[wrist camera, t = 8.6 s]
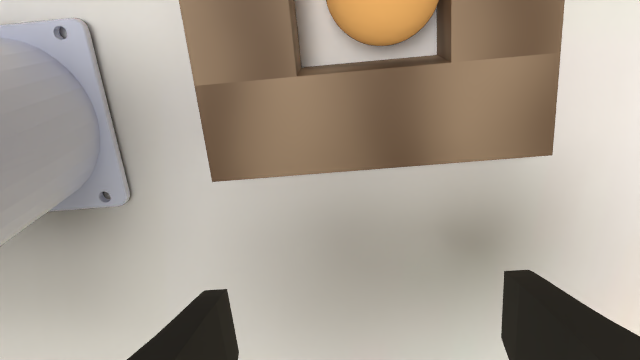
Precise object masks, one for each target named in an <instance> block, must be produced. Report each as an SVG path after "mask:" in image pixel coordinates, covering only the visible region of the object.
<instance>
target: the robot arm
mask: <svg viewBox="0 0 640 360" xmlns="http://www.w3.org/2000/svg"><path fill="white" fill-rule="evenodd" d="M61 26H62V27H63V28H65V30H66V32H67V37H66V38H65V39H64V38H62V37H61V36H60V34H59V29H60V27H61ZM103 192H107V193H108V194H109V195H110V197H111V199H107V198H105V197H104V195H103ZM129 198H130V191H129V187H128V183H127V179H126V175H125V171H124V167H123V163H122V159H121V155H120V151H119V147H118V143H117V139H116V135H115V131H114V127H113V123H112V119H111V115H110V111H109V107H108V103H107V99H106V95H105V91H104V87H103V83H102V79H101V75H100V72H99V68H98V64H97V60H96V56H95V52H94V48H93V44H92V40H91V36H90V32H89V29H88V26H87V25H86V23H85V22H84V21H82V20H80V19H78V18H67V19H57V20H47V21H37V22H28V23H18V24H8V25H0V246H1V245H3V244H4V243H5V242H7V241H8V240H10V239H11V238H12V237H14V236H15V235H16V234H18V233H19V232H21V231H22V230H23V229H25V228H26V227H27V226H29V225H30V224H31V223H33V222H34V221H36V220H37V219H38V218H40V217H41V216H42V215H44V214H45V213H47V212H49V211H62V210H76V209H89V208H102V207H115V206H121V205H123V204H125V203H126V202H127V201H128V200H129ZM501 338H502V341H503V344H504V347H505V350H506V352H507V355H508V358H509V360H640V336H638V335H636V334H634V333H632V332H631V331H629V330H627V329H625V328H623V327H622V326H620V325H618V324H616V323H614V322H613V321H611V320H609V319H607V318H606V317H604V316H602V315H601V314H599V313H597V312H596V311H594V310H592V309H591V308H589V307H588V306H586V305H584V304H583V303H581V302H580V301H578V300H576V299H575V298H573V297H572V296H570V295H569V294H567V293H565V292H564V291H562V290H561V289H559V288H558V287H556V286H555V285H553V284H551V283H550V282H548V281H547V280H545V279H544V278H542V277H540V276H539V275H537V274H536V273H534V272H532V271H530V270H517V271H504V290H503V312H502V333H501ZM238 354H239V350H238V345H237V340H236V334H235V329H234V324H233V318H232V313H231V308H230V303H229V297H228V292H227V289H221V290H206V291H203V292H202V293H201V294H200V295H199V296H198V297H197V298H195V299H194V300H193V301H192V302H191V303H190V304H189V305H188V306H187V307H186V308H185V309H184V310H183V311H182V312H181V313H180V314H178V315H177V316H176V317H175V318H174V319H173V320H172V321H171V322H170V323H169V324H168V325H167V326H166V327H164V328H163V329H162V330H161V331H160V332H159V333H158V334H157V335H156V336H155V337H153V338H152V339H151V340H150V341H149V342H147V343H146V344H145V345H144V346H143V347H142V348H140V349H139V350H138V351H137V352H136V353H134V354H133V355H132V356H131V357H130V358H128V359H127V360H238Z"/></svg>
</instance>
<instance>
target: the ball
mask: <svg viewBox="0 0 640 360" xmlns="http://www.w3.org/2000/svg"><path fill="white" fill-rule="evenodd" d="M438 1H439V0H326V2H327V6H328V9H329V11H330V14H331V15H332V17H333V19H334V21H335V22H336V23H337V25H338V26H339V27H340V28H341V29H342V30H343V31H344V32H345V33H346V34H347V35H349V36H350V37H351V38H353V39H355V40H357V41H359V42H362V43H364V44H368V45H374V46H387V45H393V44H396V43H399V42H402V41H404V40H406V39H408V38H410V37H412V36H413V35H415V34H416V33H417V32H418V31H419V30H420V29H422V28H423V27H424V25H425V24H426V23H427V22H428V21H429V19H430V18H431V16H432V15H433V13H434V11H435V9H436V6H437V4H438Z"/></svg>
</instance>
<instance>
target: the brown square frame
mask: <svg viewBox="0 0 640 360" xmlns="http://www.w3.org/2000/svg"><path fill="white" fill-rule="evenodd" d="M564 1H565V0H439V1H438V4H437V55H433V56H422V57H411V58H400V59H389V60H379V61H368V62H357V63H346V64H335V65H324V66H313V67H302V68H301V60H300V50H299V41H298V31H297V22H296V12H295V3H294V0H179V4H180V9H181V15H182V20H183V25H184V31H185V36H186V42H187V47H188V53H189V58H190V63H191V69H192V74H193V80H194V85H195V91H196V96H197V102H198V107H199V112H200V118H201V123H202V129H203V134H204V140H205V145H206V150H207V156H208V161H209V167H210V172H211V178H212V182H216V181H229V180H241V179H254V178H267V177H280V176H293V175H305V174H318V173H331V172H344V171H356V170H369V169H382V168H395V167H408V166H420V165H433V164H446V163H459V162H472V161H484V160H497V159H510V158H523V157H535V156H548V155H552V153H553V140H554V128H555V115H556V102H557V90H558V77H559V64H560V52H561V39H562V26H563V14H564Z"/></svg>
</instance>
